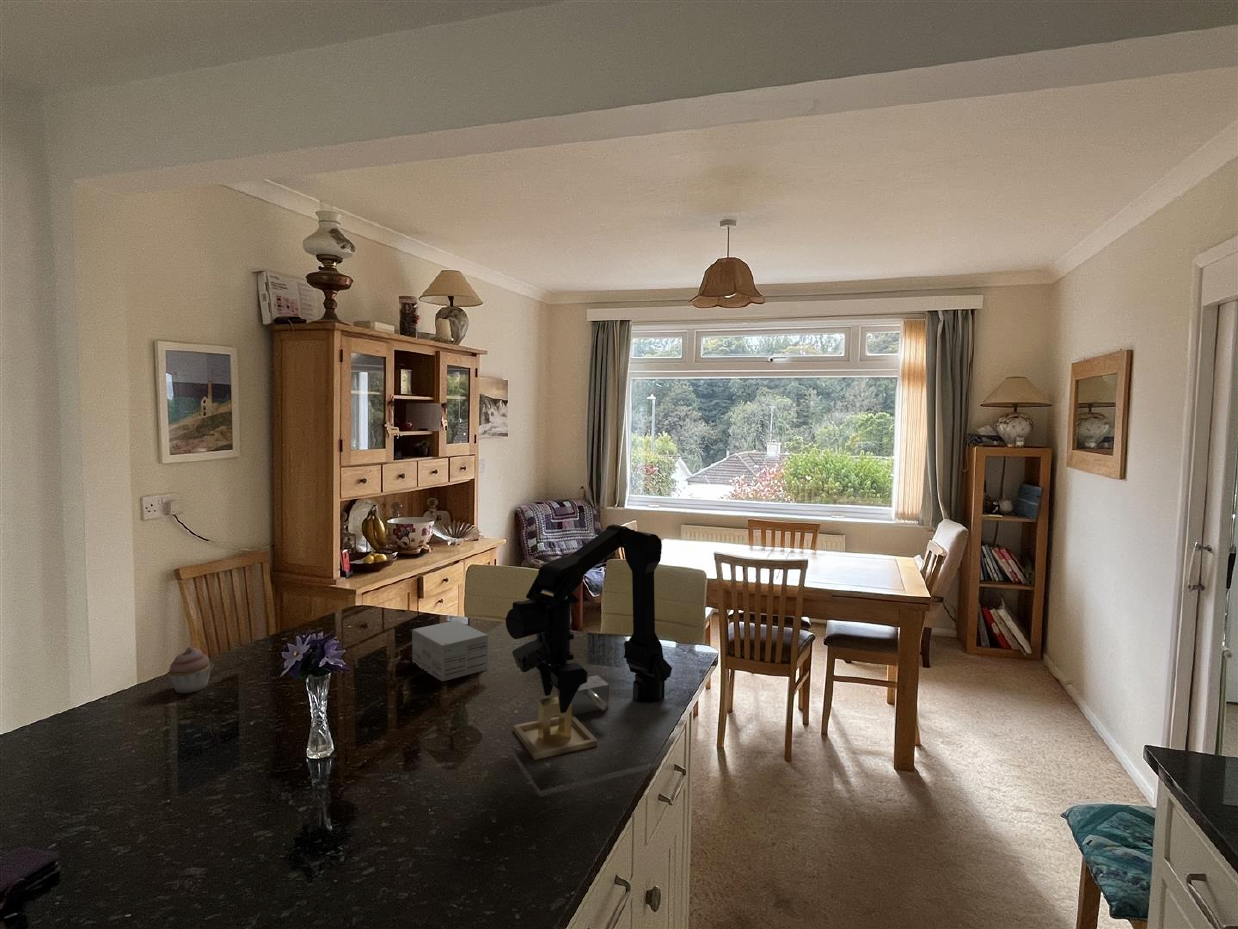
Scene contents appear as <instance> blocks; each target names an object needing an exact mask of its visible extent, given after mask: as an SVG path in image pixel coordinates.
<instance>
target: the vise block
mask: <svg viewBox="0 0 1238 929" xmlns="http://www.w3.org/2000/svg"><path fill="white" fill-rule="evenodd" d="M556 697H558V692H557V691H556ZM609 698H610V684H609V683H608V682H607V681H605V680H604V679H603V678H602V677H601V676H599V675H598V674H596V675H591V676H588V682H587V683H584V684H582V685H580V687H579V689H578V690H577V692H576V694H575V696H574V697H573V699H572V714H573V715H574V716H575V715H578V714H584V713H588V712H594V711H599V710H601V711H606V710H607V709H609V706H610V705H609V703H610V702H609V700H610V699H609Z"/></svg>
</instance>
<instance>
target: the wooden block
mask: <svg viewBox="0 0 1238 929" xmlns="http://www.w3.org/2000/svg"><path fill="white" fill-rule="evenodd" d="M537 706H538V708H537V712H538V713H537V721H538V738H539V739H540V740H541V742H542V743H543V744H545V743H550V742H554V741H559V740H563V739H568V738H571V724H572V701H571V703H570V705H569V707H568V709H567V711H566V712H565V713H561V712H560V707H559V700H558V697H557V696H554V697H553V696H552V697H549V698H542V699H538V702H537ZM558 716H559V726H555V727H550V726H551V718H553V717H558Z"/></svg>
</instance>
